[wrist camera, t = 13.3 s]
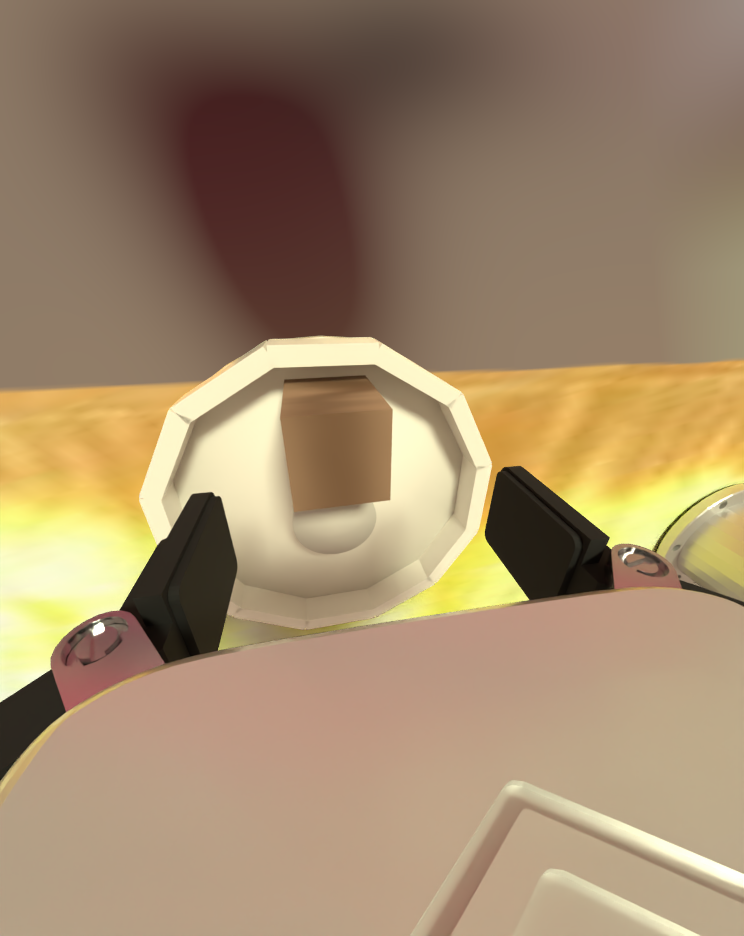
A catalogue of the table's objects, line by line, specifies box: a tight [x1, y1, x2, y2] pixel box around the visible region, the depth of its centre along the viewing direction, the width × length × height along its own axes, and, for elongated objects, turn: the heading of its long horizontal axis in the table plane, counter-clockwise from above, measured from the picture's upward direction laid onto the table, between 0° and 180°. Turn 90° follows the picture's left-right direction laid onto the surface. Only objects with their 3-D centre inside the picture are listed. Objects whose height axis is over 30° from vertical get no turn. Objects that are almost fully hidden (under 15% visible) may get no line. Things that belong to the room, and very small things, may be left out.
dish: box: [139, 336, 492, 630], centre depth 21 cm, size 20×20×4 cm
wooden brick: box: [280, 375, 393, 512], centre depth 16 cm, size 4×4×6 cm
